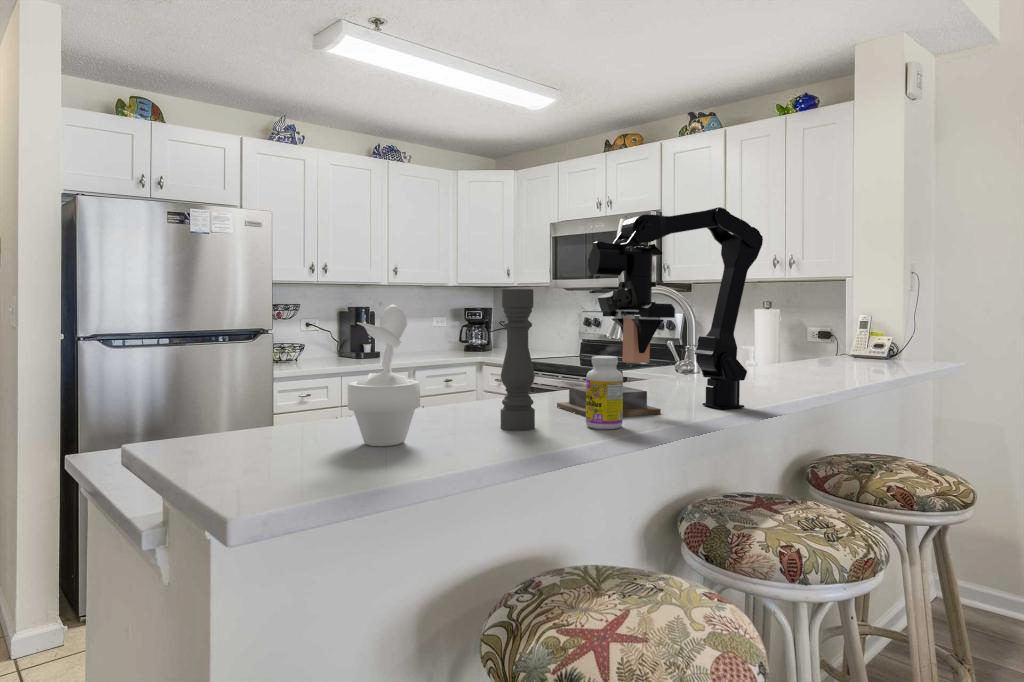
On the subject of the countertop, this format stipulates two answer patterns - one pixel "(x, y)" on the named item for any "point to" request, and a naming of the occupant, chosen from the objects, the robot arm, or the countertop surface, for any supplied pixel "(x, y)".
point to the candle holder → (517, 361)
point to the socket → (631, 402)
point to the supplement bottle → (604, 394)
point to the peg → (632, 344)
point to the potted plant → (385, 388)
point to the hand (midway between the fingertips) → (636, 352)
